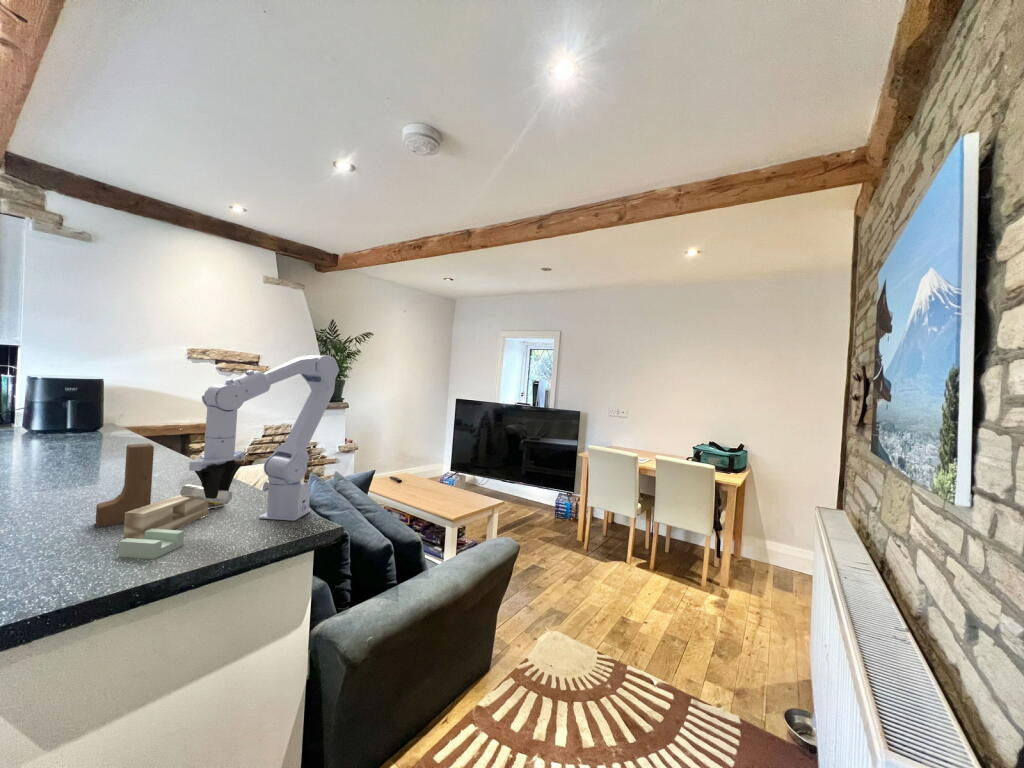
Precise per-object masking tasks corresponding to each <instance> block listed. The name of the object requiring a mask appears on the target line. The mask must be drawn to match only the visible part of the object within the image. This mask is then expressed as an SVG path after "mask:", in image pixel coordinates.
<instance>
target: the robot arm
mask: <svg viewBox="0 0 1024 768" xmlns="http://www.w3.org/2000/svg"><path fill="white" fill-rule="evenodd" d="M339 372H340V368H339V365H338V362H337V360H336V359H335V357H333V356H332V355H329V354H325V355H311V354H304V355H301V356H298V357H297V356H296V357H295V358H293V359H291V360H289V361H287V362H285V363H282V364H280V365H278V366H276V367H274V368H272V369H269V370H267V371H265V372H263V371H260V370H251V369H249V370H247V371H245V372H244V373H245V374H244V375H242V376H239V377H236V378H234V379H233V378H228V379H226V380H225V383H224V384H219V383H217V384H213V385H210V386H209V387H208V388H207V389H206V390H205V392H204V394H203V395H202V396H201V400H202V402H203V404H204V406H205V408H206V419H205V434H204V450H203V451H204V452H203V454H200V455H199V457H198V458H196V459H194V460H190V461H189V464H188V471H193V472H195V475H196V476H197V477H198V478H199V480H200V484H201V485H202V486H203V489H204V493H205V497H206V498H210V499H215V498H217V495H218V490H224V491H229V492H230V488H231V485H232V482H233V480H234V477H235V476H236V474H237V472H238V471H239V470H240V468H241V466H242V465H241V464H242V463H241V462H240V461H239V462H236V461H238V460H241V461H242V460H245V457H246V456H245V453H246V451H245V450H236V438H237V437H236V436H237V424H238V423H237V422H238V421H237V420H238V409H240V408H241V407H242V406H243V404H244V403H245V402H248V401H249V400H252V399H254V398H256V397H258V396H261V395H262V394H265V393H267V392H269V390H270V389H271V385H273V384H276V383H278V382H281V381H284V380H287V379H289V378H291V377H295V376H296V375H297V376H298V375H301V377H302V379H304V380H305V382H306V383H307V384H308V386H309V388H310V393H309V395H308V397H307V399H306V400H305V402H304V404H303V406H302V409H301V410H300V413H299V415H298V416H297V418H296V420H295V423H294V424H293V426H292V428H291V430H290V432H289V434H288V436H287V438H286V440H285V441H284V443H282V444H281V445H279V446H277V447H276V448H275V449H274V451H273V453H272V454H271V455H270V456H268V457H267V458H266V460H265V461H264V463H263V472H264V474H265V475H266V476H267V481H268V485H267V487H268V489H267V504H266V506H267V507H266V512H265V513H262V514H261V515H258V519H261V520H262V519H264V520H266V519H267V520H277V521H291V522H292V521H296V520H298V519H300V518H301V517H303V516H305V515H306V514H309V513H310V512H311V509H310V499H311V497H310V496H311V487H310V484H309V483H308V482H307V483H306V482H303V481H302V480H303V478H304V477H305V475H306V473H307V470H308V468H307V467H308V462H309V460H310V456H309V453H308V451H307V448H308V446H309V444H310V442H311V440H312V439H313V436H314V434H315V432H316V429H317V427H318V426H319V424H320V421H321V419H322V417H323V415H324V413H325V412H326V410H327V407H328V406H329V404H330V401H331V398H332V397H333V394H334V392H335V389H336V388H335V386H336V378H337V376H338V374H339Z"/></svg>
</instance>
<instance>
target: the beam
mask: <svg viewBox="0 0 1024 768" xmlns="http://www.w3.org/2000/svg"><path fill="white" fill-rule="evenodd" d="M208 513H209V509H208V501H205V500H199V499H193V498H188V497H182V496H181V494H179V495H176V496H172V497H169V498H167V499H163V500H160V501H157V502H153V503H150V505H147V506H144V507H141V508H138V509H135V510H131V511H128V512H125V521H124V523H123V539H122V540H124V539H126V538H132V539H144V537H145V531H147V530H150V529H165V530H174V529H175V530H178V529H179V528H182V527H184V526H186V524H187V525H189V524H190V523H189V522H191V523H193V522H192V521H194V520H196V519H199V518H201V517H203V516H206V515H209V514H208ZM206 517H207V516H206ZM203 518H204V517H203ZM201 519H202V518H201ZM199 520H200V519H199ZM196 521H197V520H196ZM194 522H195V521H194ZM188 523H189V524H188ZM183 525H184V526H183ZM181 526H182V527H181Z"/></svg>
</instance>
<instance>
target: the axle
mask: <svg viewBox="0 0 1024 768" xmlns="http://www.w3.org/2000/svg"><path fill="white" fill-rule="evenodd" d="M179 495H181V496H182V497H188V498H193V499H199V500H205V501H210V502H216V503H222V504H225V505H228V504H229V503H230V502H231V500H232V498H233V492H232V491H230V490H229V491H224V490H218V495H217V498H215V499H210V498H206V497H205V493H204V489H203V487H201V486H200V485H194V484H189V483H188V484H184V485H183V486H182V488H181V489H180V494H179Z"/></svg>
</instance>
